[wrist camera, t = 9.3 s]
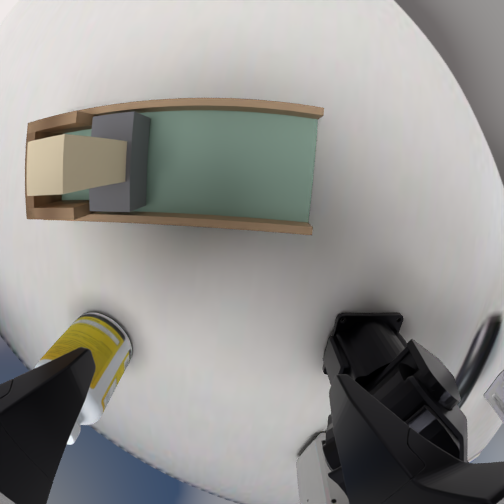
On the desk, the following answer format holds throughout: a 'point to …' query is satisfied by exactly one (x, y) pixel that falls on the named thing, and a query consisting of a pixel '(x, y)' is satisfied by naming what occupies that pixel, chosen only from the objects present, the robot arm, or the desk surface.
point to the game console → (497, 396)
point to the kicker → (95, 163)
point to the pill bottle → (105, 357)
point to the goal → (53, 204)
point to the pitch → (222, 164)
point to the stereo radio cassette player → (317, 477)
